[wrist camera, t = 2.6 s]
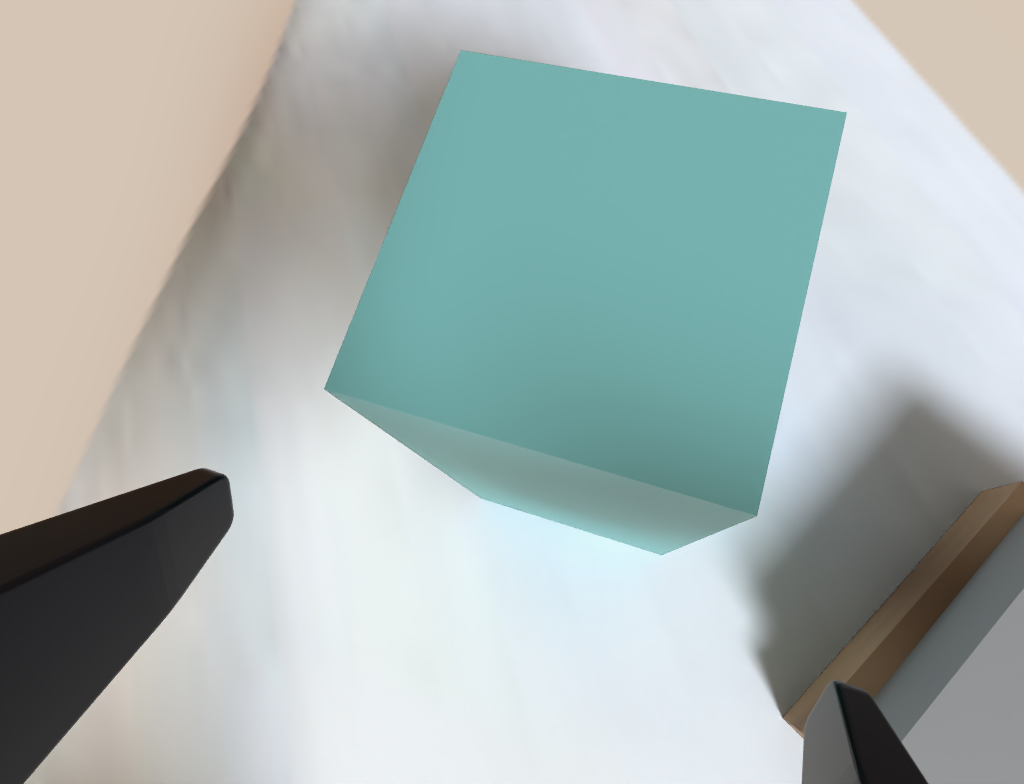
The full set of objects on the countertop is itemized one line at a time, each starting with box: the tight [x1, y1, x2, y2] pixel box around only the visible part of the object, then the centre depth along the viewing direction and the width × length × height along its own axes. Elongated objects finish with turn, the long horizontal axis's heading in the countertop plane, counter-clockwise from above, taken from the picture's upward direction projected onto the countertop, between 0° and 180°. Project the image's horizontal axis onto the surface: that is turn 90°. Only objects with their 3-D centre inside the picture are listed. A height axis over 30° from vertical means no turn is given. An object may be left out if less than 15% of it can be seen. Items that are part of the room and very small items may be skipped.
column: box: [324, 50, 847, 555], centre depth 15 cm, size 6×6×12 cm
